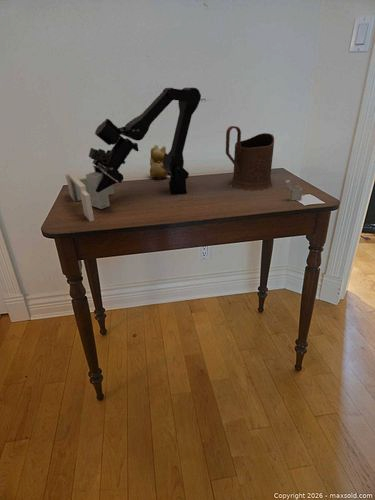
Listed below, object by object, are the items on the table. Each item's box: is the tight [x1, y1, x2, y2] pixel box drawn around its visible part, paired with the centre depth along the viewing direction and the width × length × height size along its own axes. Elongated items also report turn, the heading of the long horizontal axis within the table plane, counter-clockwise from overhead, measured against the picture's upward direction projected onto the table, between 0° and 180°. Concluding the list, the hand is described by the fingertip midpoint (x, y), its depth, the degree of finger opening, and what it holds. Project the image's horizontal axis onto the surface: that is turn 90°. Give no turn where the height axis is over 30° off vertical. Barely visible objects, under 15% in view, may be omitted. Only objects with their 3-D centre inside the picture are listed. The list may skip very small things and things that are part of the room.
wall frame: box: [65, 172, 95, 222], centre depth 114 cm, size 32×2×11 cm, turn 30°
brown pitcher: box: [225, 125, 275, 192], centre depth 129 cm, size 18×24×25 cm
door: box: [71, 177, 115, 202], centre depth 124 cm, size 16×2×8 cm, turn 120°
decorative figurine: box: [149, 144, 169, 180], centre depth 145 cm, size 10×8×15 cm
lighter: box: [284, 178, 304, 202], centre depth 115 cm, size 7×2×8 cm, turn 101°
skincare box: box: [85, 171, 111, 210], centre depth 112 cm, size 6×4×12 cm
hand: (94, 189), depth 111 cm, fingers closed on skincare box, 7 cm apart
